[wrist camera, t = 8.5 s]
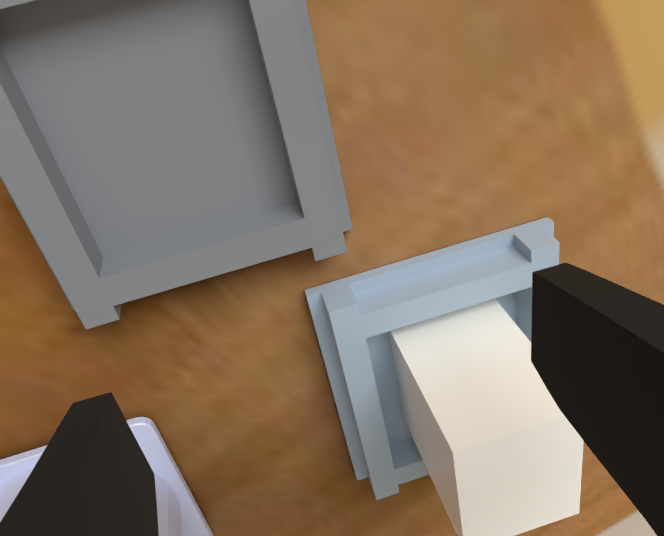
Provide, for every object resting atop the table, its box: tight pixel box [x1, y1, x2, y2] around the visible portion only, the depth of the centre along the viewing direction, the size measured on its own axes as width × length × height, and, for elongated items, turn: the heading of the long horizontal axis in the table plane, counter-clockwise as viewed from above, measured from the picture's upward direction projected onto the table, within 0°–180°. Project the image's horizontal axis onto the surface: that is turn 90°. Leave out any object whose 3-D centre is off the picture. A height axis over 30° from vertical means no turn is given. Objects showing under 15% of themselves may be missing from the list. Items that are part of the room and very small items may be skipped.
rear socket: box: [304, 217, 559, 500], centre depth 23 cm, size 9×10×2 cm
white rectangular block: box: [388, 298, 584, 536], centre depth 21 cm, size 4×5×6 cm
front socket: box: [0, 0, 353, 329], centre depth 16 cm, size 9×10×2 cm
